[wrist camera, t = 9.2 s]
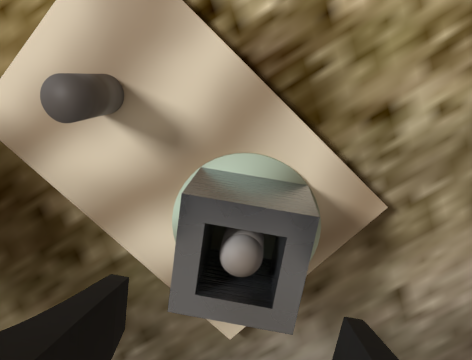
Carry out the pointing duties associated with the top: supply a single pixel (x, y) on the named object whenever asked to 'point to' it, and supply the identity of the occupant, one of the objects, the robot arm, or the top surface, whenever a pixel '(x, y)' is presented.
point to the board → (163, 130)
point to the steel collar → (251, 219)
